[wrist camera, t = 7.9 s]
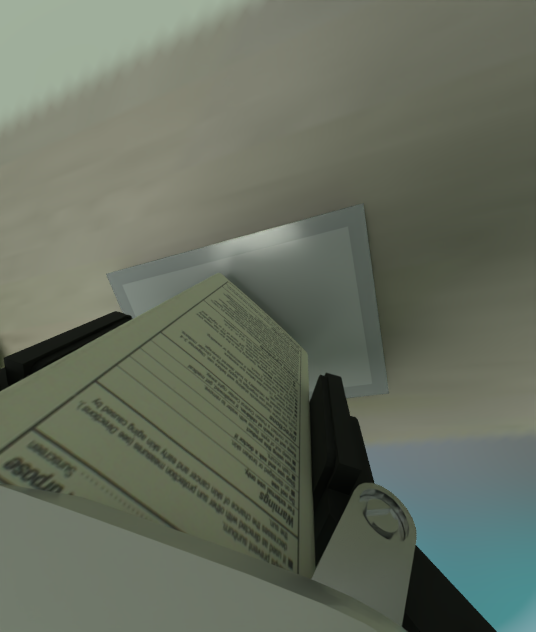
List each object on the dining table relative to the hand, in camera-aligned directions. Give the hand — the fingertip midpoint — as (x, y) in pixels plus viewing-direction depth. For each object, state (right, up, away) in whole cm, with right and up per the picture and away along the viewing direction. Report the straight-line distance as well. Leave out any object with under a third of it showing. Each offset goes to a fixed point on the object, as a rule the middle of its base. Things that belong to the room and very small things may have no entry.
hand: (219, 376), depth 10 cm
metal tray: (+1, +2, +5) cm, 6 cm away
